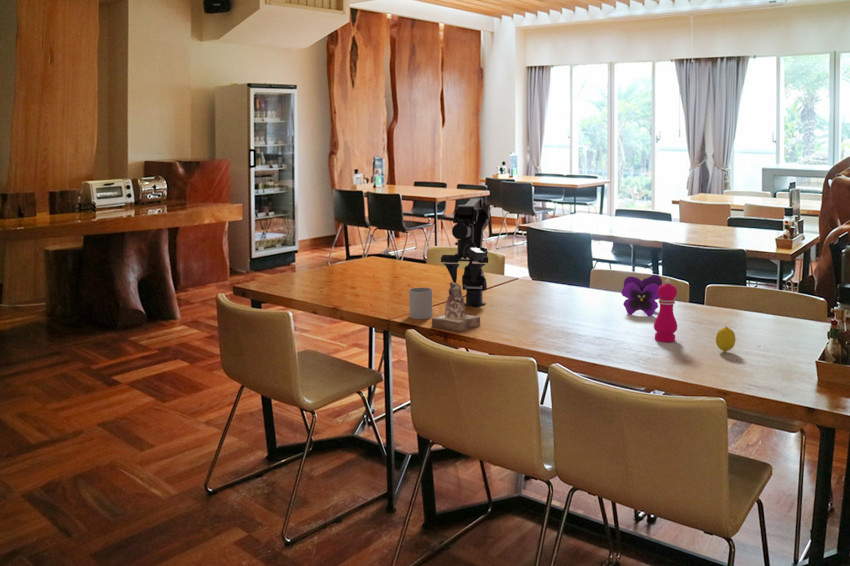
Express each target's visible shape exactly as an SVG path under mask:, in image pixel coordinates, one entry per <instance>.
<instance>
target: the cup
mask: <svg viewBox="0 0 850 566" xmlns="http://www.w3.org/2000/svg"><path fill="white" fill-rule="evenodd" d="M408 294H409V295H408V297H409V303H408V304H409V318H411V319H414V320H416V319H417V320H428V319H432V318H433V289H432V288H430V287H413V288H409V290H408Z"/></svg>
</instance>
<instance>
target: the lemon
mask: <svg viewBox="0 0 850 566" xmlns="http://www.w3.org/2000/svg"><path fill="white" fill-rule="evenodd" d="M715 344H716V346H717V348H718V349H720V350H721V351H722V352H723V353H727V351H731V350H732V349H733V348H734V346H735V345H736V334H735V332H734V330H732V329H731V328H729V327H728V326H724V327H722V328H720V329H719V330H718V331H717V333H716V336H715Z"/></svg>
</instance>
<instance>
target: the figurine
mask: <svg viewBox="0 0 850 566" xmlns="http://www.w3.org/2000/svg"><path fill="white" fill-rule="evenodd" d="M449 286H450V287H449V288H448V297H447V299H446V302H445V309H444V315H445V317H446V318H448V319H463V318H465V316H466V314H467V313H466V309H465V305H464V303H465V297H464V296H463V292H462V291H463V290H462V285H460V284H459V283H457V282H456V283H454V282H453V281H451V282H449Z"/></svg>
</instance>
